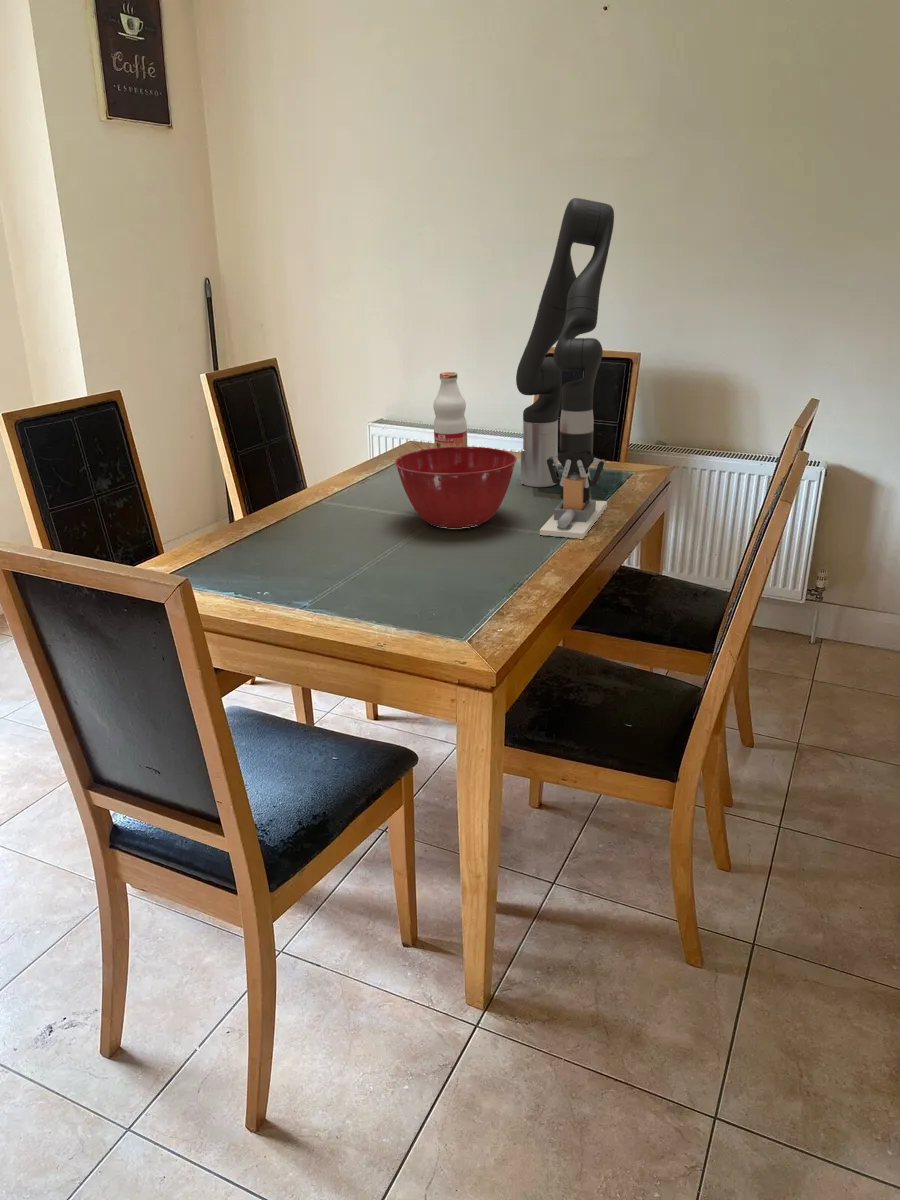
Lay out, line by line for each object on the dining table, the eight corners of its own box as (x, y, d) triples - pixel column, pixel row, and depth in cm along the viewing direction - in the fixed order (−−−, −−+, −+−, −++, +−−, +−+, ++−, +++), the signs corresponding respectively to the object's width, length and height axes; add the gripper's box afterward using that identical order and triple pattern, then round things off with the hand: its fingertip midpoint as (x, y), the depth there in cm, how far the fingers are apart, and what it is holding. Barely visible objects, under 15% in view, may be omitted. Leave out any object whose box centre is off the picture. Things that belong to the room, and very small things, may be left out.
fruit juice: (474, 470, 261) (472, 372, 251) (454, 477, 254) (451, 376, 244) (449, 466, 267) (445, 370, 256) (428, 473, 260) (424, 374, 249)
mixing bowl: (414, 503, 232) (411, 443, 226) (524, 506, 227) (524, 445, 221) (384, 538, 207) (380, 472, 201) (508, 542, 201) (507, 474, 195)
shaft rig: (539, 536, 204) (539, 505, 201) (567, 504, 226) (567, 476, 224) (583, 539, 201) (584, 508, 198) (607, 507, 223) (607, 478, 220)
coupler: (569, 505, 216) (570, 469, 213) (587, 506, 215) (587, 470, 211) (563, 513, 210) (563, 476, 207) (580, 514, 209) (581, 477, 206)
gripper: (611, 426, 206) (608, 499, 213) (550, 424, 211) (549, 495, 217) (604, 433, 200) (602, 508, 206) (541, 431, 204) (541, 504, 211)
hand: (575, 501), depth 212 cm, fingers closed on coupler, 4 cm apart
